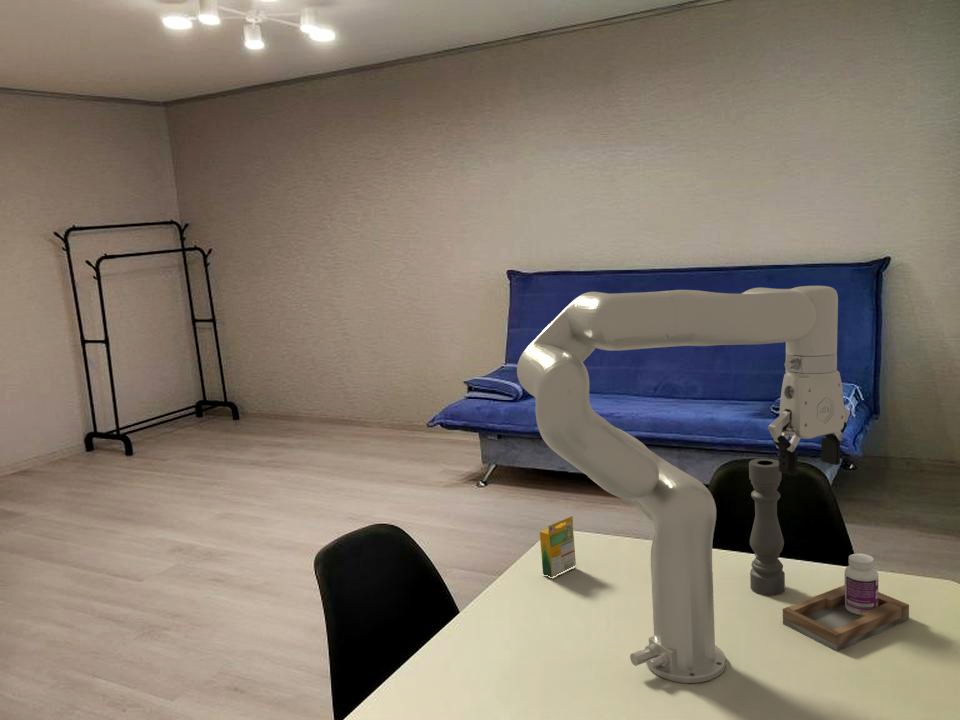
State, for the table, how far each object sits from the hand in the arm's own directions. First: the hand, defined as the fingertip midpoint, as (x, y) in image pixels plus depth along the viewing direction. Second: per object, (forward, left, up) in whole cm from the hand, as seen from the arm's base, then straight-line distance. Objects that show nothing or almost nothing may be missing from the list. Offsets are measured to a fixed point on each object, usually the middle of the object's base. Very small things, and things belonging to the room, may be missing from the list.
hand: (809, 468), depth 128 cm
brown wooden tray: (+9, 0, -30) cm, 31 cm away
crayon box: (-20, +47, -30) cm, 59 cm away
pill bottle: (+13, 0, -29) cm, 32 cm away
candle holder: (+8, +17, -30) cm, 35 cm away
